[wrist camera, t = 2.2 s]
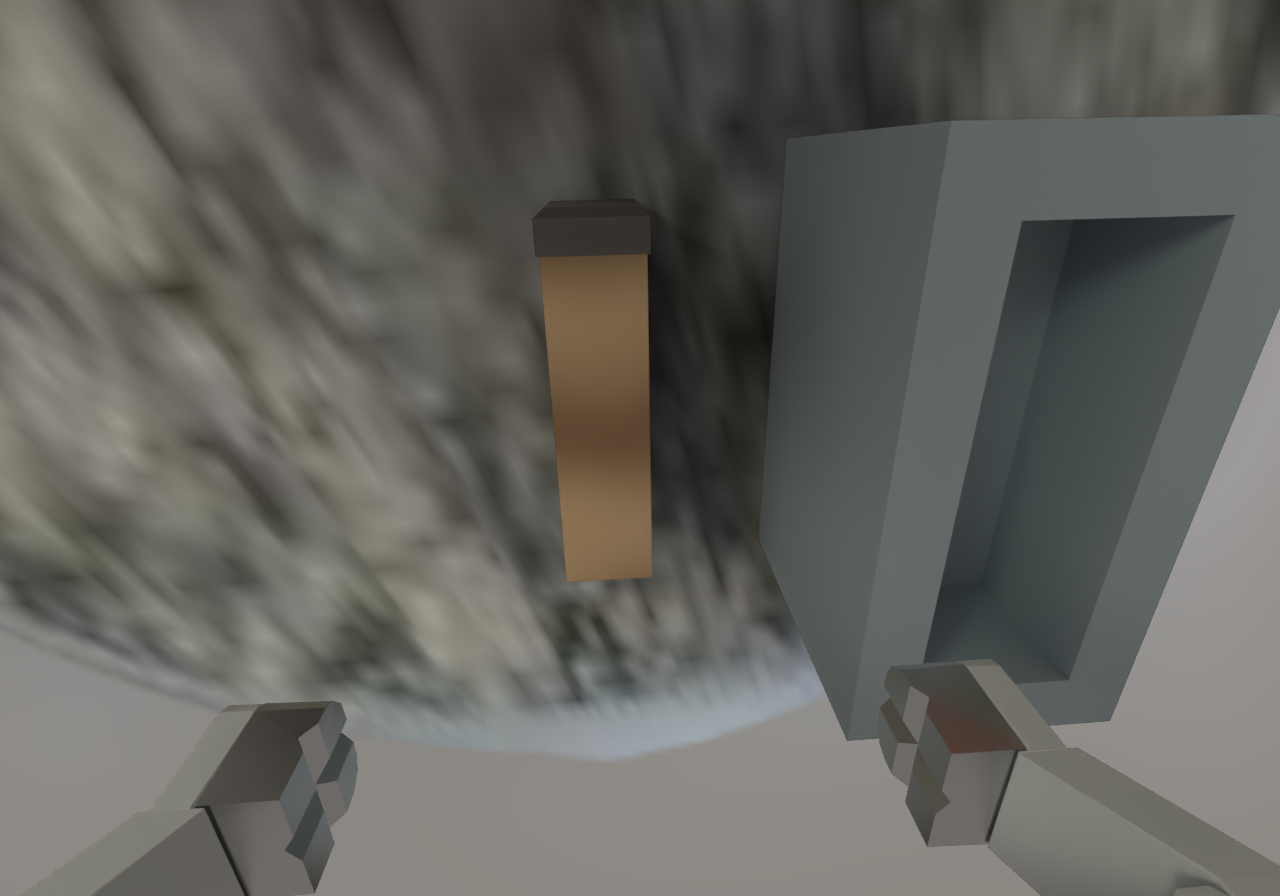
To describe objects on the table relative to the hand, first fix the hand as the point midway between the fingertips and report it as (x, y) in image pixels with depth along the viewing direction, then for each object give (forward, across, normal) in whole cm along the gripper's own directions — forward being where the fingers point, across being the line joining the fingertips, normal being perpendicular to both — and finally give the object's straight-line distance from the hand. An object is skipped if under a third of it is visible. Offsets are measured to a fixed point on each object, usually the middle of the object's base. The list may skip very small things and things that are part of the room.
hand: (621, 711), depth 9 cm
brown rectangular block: (+19, 0, 0) cm, 19 cm away
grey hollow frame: (+19, -12, +1) cm, 22 cm away
